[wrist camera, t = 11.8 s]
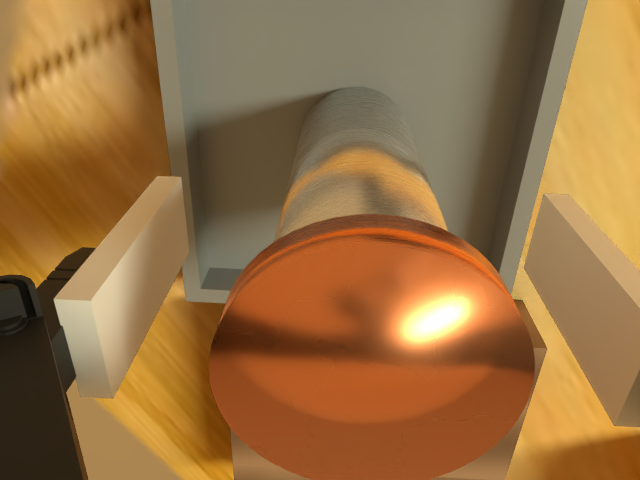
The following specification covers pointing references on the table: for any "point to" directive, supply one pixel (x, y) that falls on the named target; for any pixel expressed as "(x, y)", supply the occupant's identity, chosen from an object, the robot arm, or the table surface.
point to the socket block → (477, 476)
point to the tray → (358, 71)
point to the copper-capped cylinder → (368, 316)
